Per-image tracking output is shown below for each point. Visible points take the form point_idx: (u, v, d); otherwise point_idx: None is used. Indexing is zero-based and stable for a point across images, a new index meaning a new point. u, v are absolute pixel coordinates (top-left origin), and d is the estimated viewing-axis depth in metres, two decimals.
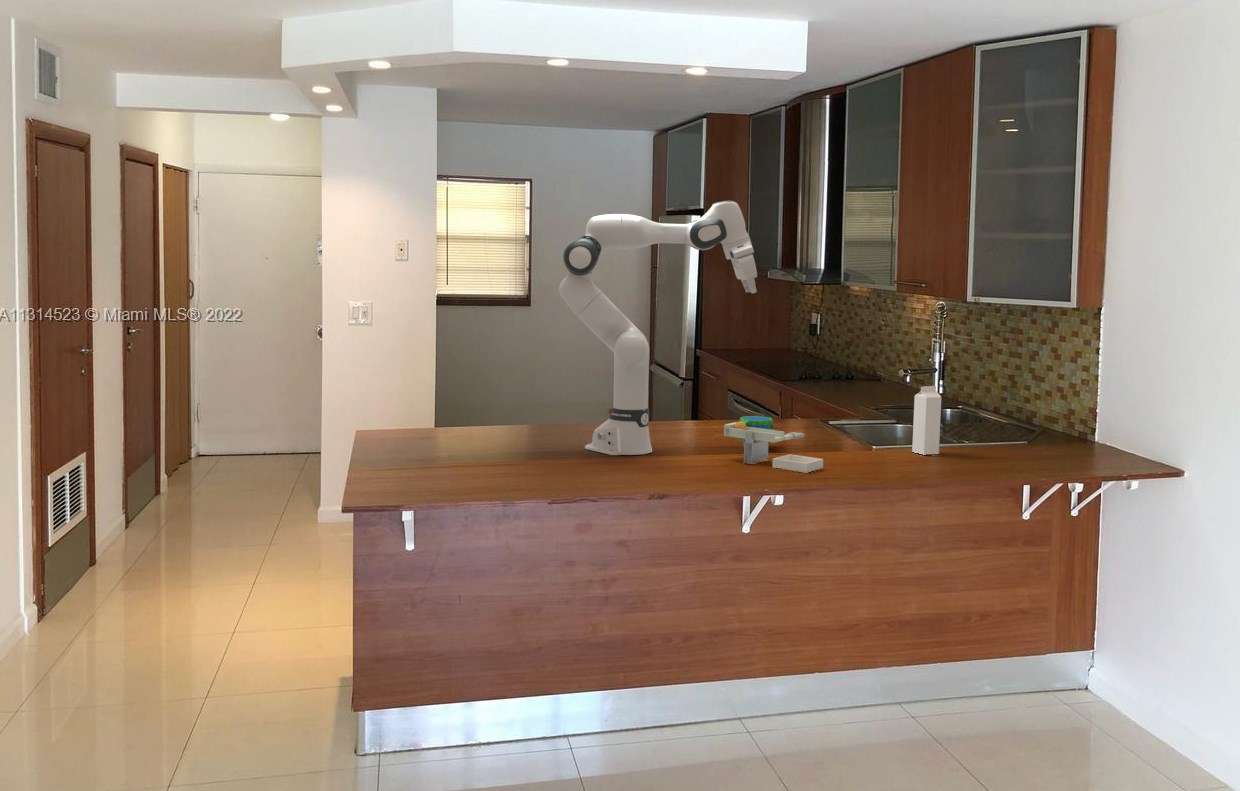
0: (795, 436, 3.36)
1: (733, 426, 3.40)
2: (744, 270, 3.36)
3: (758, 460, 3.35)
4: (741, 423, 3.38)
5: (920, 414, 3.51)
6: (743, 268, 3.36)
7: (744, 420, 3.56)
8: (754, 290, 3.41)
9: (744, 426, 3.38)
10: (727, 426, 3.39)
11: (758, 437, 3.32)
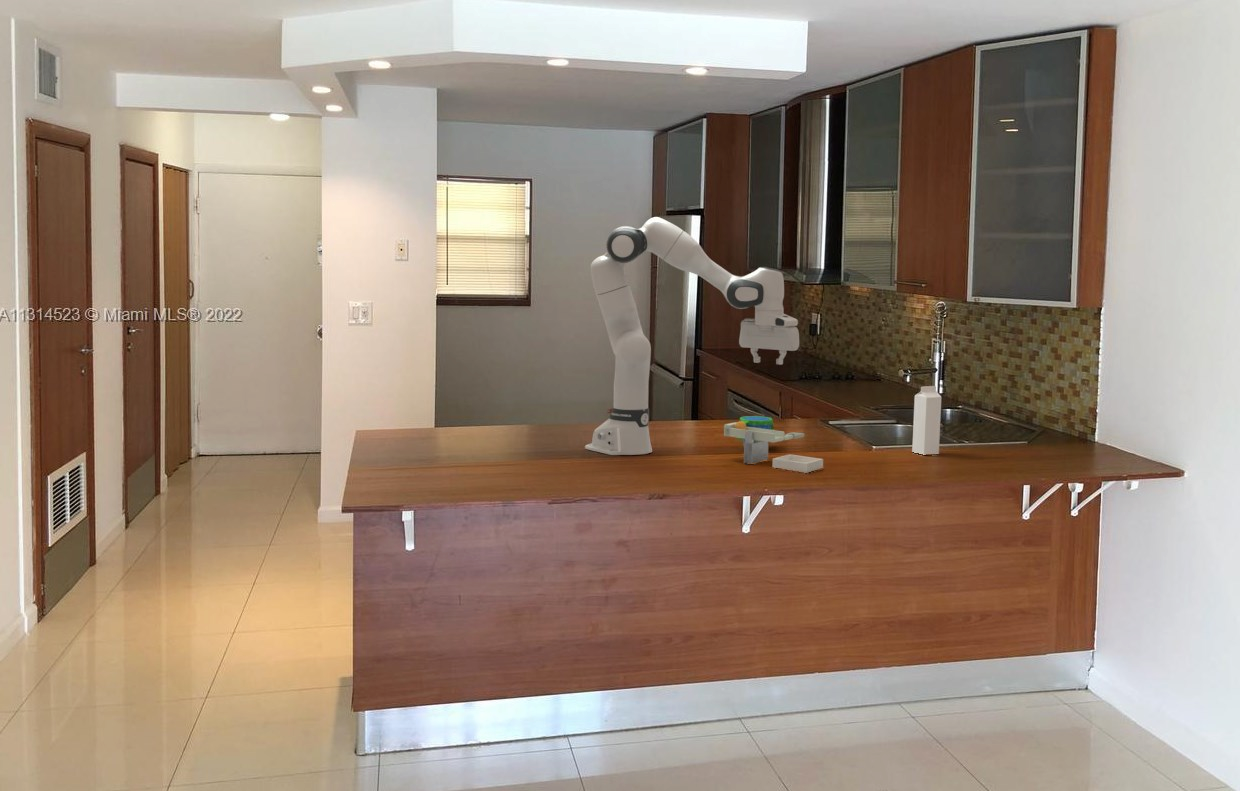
0: (795, 436, 3.36)
1: (733, 426, 3.40)
2: (793, 340, 3.37)
3: (758, 460, 3.35)
4: (741, 423, 3.38)
5: (920, 414, 3.51)
6: (792, 338, 3.36)
7: (744, 420, 3.56)
8: (781, 362, 3.42)
9: (744, 426, 3.38)
10: (727, 426, 3.39)
11: (758, 437, 3.32)
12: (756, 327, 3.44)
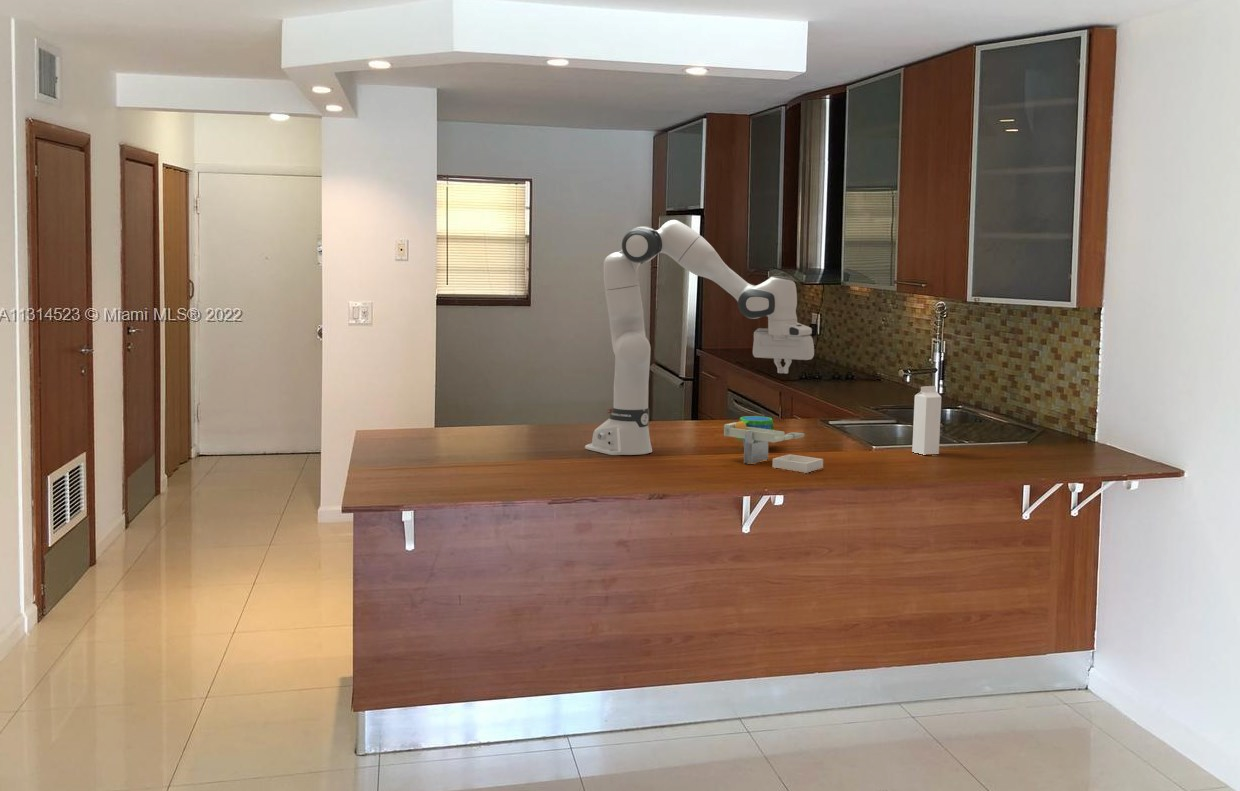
0: (795, 436, 3.36)
1: (733, 426, 3.40)
2: (808, 349, 3.33)
3: (758, 460, 3.35)
4: (741, 423, 3.38)
5: (920, 414, 3.51)
6: (807, 347, 3.33)
7: (744, 420, 3.56)
8: (787, 371, 3.41)
9: (744, 426, 3.38)
10: (727, 426, 3.39)
11: (758, 437, 3.32)
12: (770, 337, 3.41)
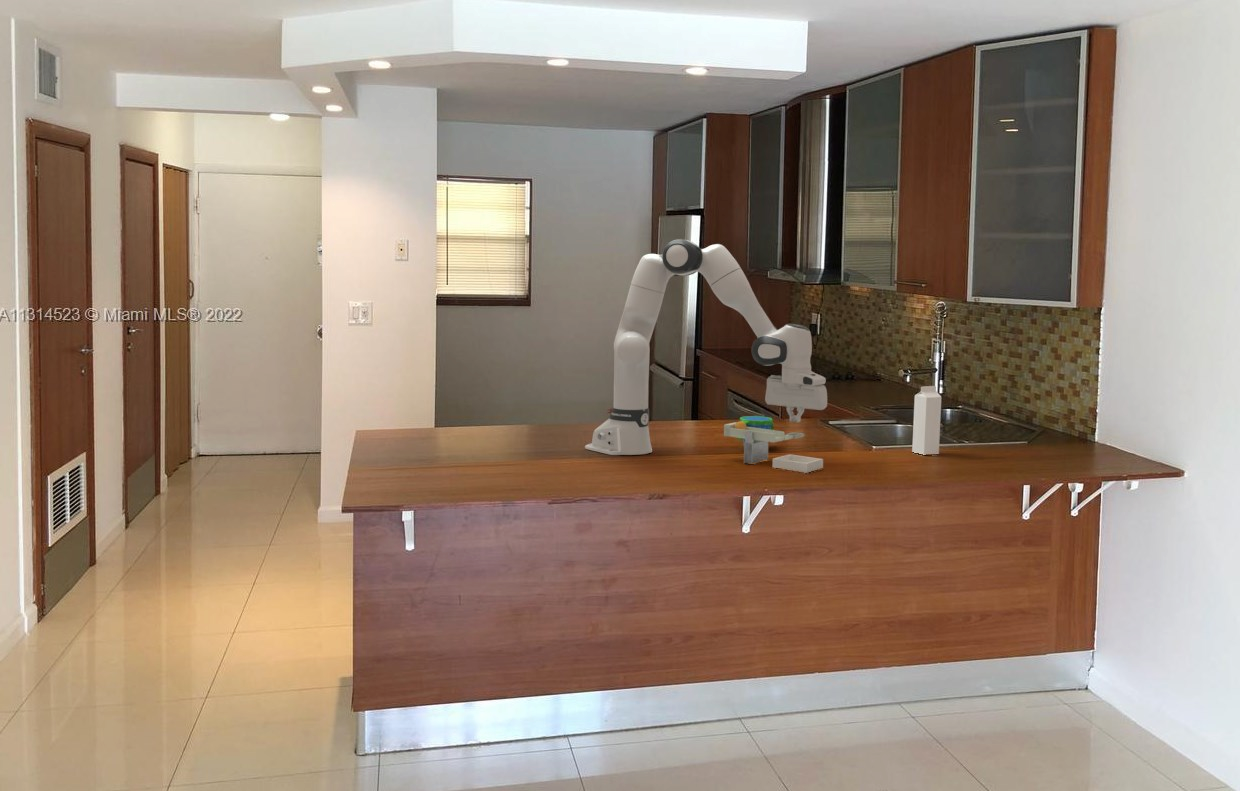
0: (795, 436, 3.36)
1: (733, 426, 3.40)
2: (821, 399, 3.30)
3: (758, 460, 3.35)
4: (741, 423, 3.38)
5: (920, 414, 3.51)
6: (821, 397, 3.30)
7: (744, 420, 3.56)
8: (799, 419, 3.38)
9: (744, 426, 3.38)
10: (727, 426, 3.39)
11: (758, 437, 3.32)
12: (783, 385, 3.38)
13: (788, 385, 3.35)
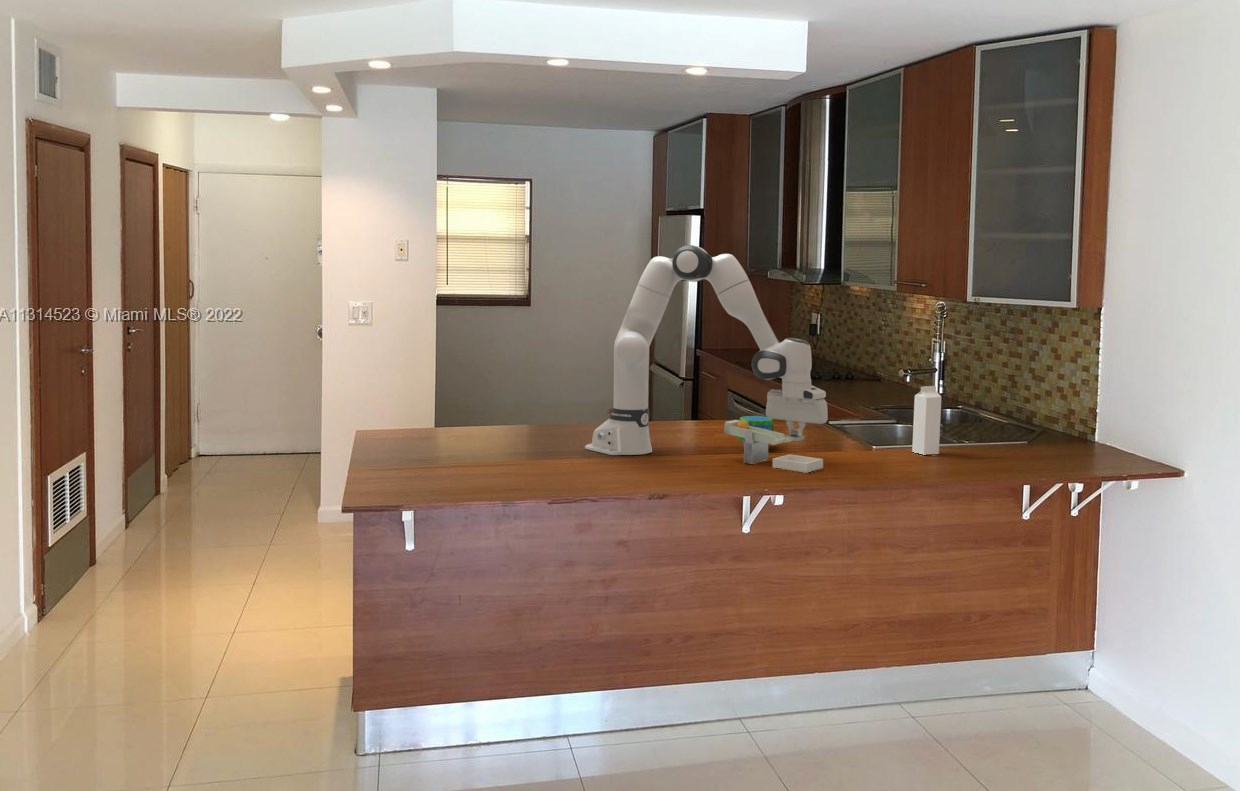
0: (795, 439, 3.36)
1: (734, 424, 3.40)
2: (821, 413, 3.31)
3: (758, 460, 3.35)
4: (745, 423, 3.37)
5: (920, 414, 3.51)
6: (821, 411, 3.30)
7: None
8: (800, 433, 3.38)
9: (746, 427, 3.38)
10: (728, 424, 3.39)
11: (758, 437, 3.32)
12: (783, 399, 3.38)
13: (788, 399, 3.36)
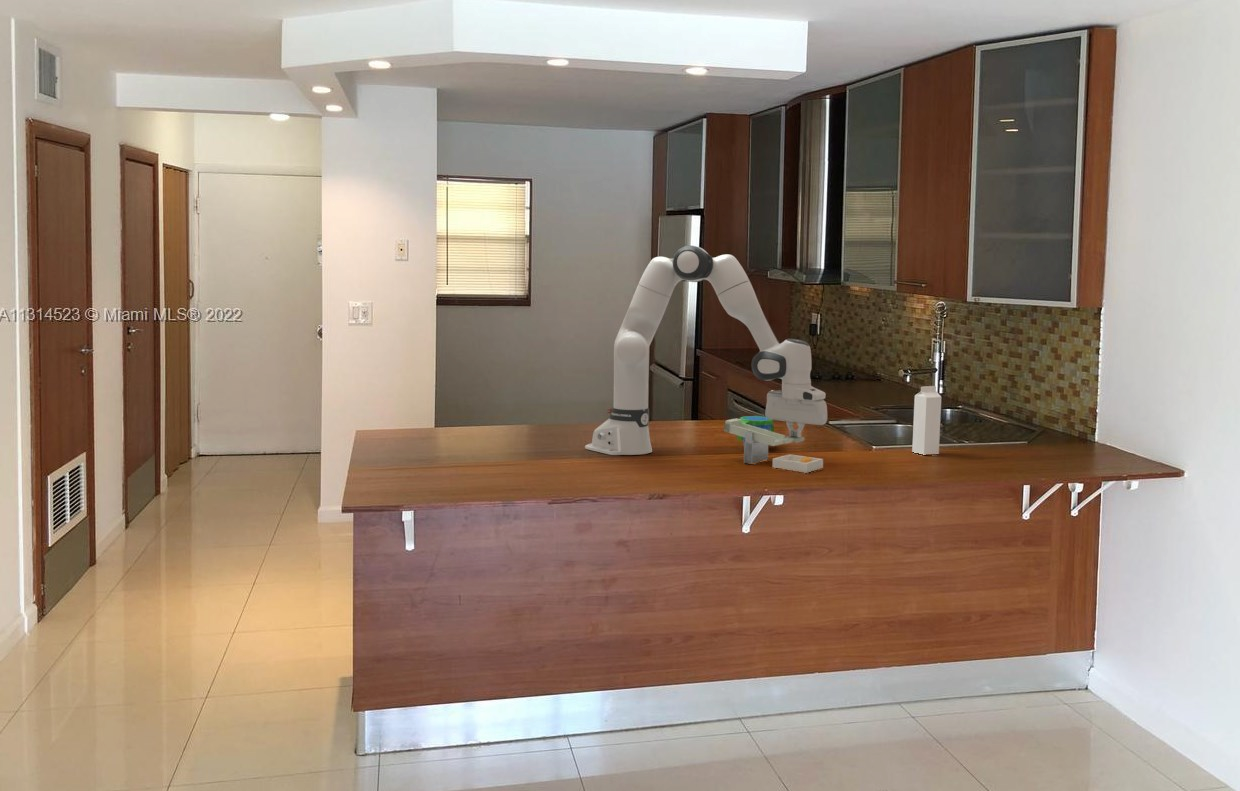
0: (795, 440, 3.36)
1: (734, 423, 3.40)
2: (821, 415, 3.31)
3: (758, 460, 3.35)
4: None
5: (920, 414, 3.51)
6: (821, 412, 3.31)
7: (744, 420, 3.56)
8: (799, 434, 3.38)
9: None
10: (728, 422, 3.39)
11: (758, 438, 3.32)
12: (783, 400, 3.38)
13: (788, 400, 3.36)
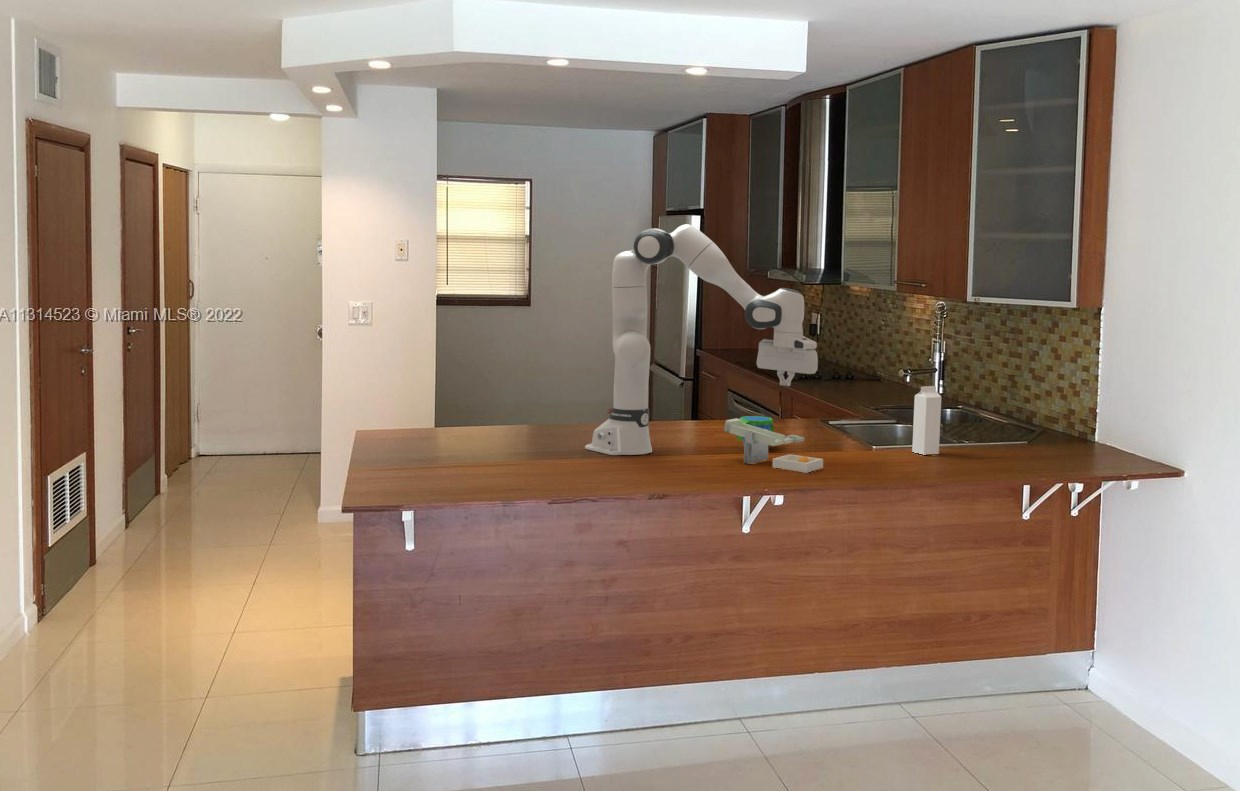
0: (795, 440, 3.36)
1: (734, 423, 3.40)
2: (811, 363, 3.32)
3: (758, 460, 3.35)
4: (806, 460, 3.25)
5: (920, 414, 3.51)
6: (811, 361, 3.32)
7: (744, 420, 3.56)
8: (789, 383, 3.40)
9: None
10: (728, 422, 3.39)
11: (758, 438, 3.32)
12: (774, 348, 3.40)
13: (779, 349, 3.38)
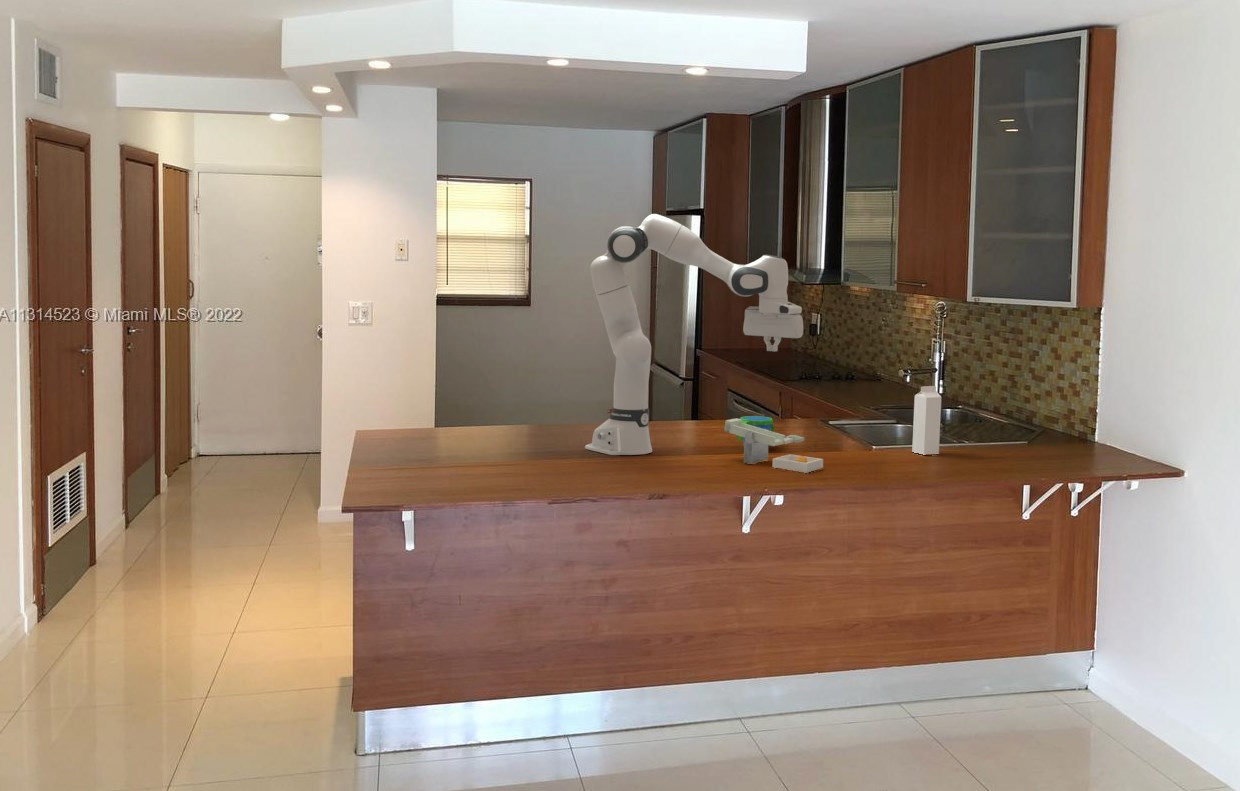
0: (795, 440, 3.36)
1: (734, 423, 3.40)
2: (797, 328, 3.38)
3: (758, 460, 3.35)
4: (802, 458, 3.25)
5: (920, 414, 3.51)
6: (797, 325, 3.37)
7: (744, 420, 3.56)
8: (776, 349, 3.45)
9: (805, 462, 3.26)
10: (728, 422, 3.39)
11: (758, 438, 3.32)
12: (760, 315, 3.45)
13: (765, 315, 3.43)
